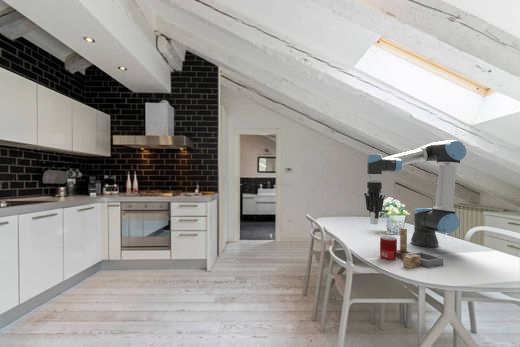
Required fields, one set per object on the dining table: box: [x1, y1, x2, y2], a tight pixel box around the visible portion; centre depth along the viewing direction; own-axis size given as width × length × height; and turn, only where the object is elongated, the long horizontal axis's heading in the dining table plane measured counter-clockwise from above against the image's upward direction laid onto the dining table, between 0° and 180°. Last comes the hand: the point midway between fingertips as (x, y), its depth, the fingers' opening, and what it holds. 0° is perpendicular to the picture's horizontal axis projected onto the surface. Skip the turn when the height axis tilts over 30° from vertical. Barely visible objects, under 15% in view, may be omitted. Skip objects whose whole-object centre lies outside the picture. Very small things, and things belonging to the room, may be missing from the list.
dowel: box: [399, 227, 408, 253], centre depth 152 cm, size 3×3×15 cm
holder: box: [397, 249, 414, 260], centre depth 152 cm, size 8×8×2 cm
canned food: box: [379, 235, 398, 261], centre depth 149 cm, size 8×8×11 cm
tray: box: [405, 251, 444, 268], centre depth 142 cm, size 12×12×3 cm
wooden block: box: [402, 254, 421, 269], centre depth 136 cm, size 8×3×5 cm, turn 114°
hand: (373, 223), depth 158 cm, fingers closed
